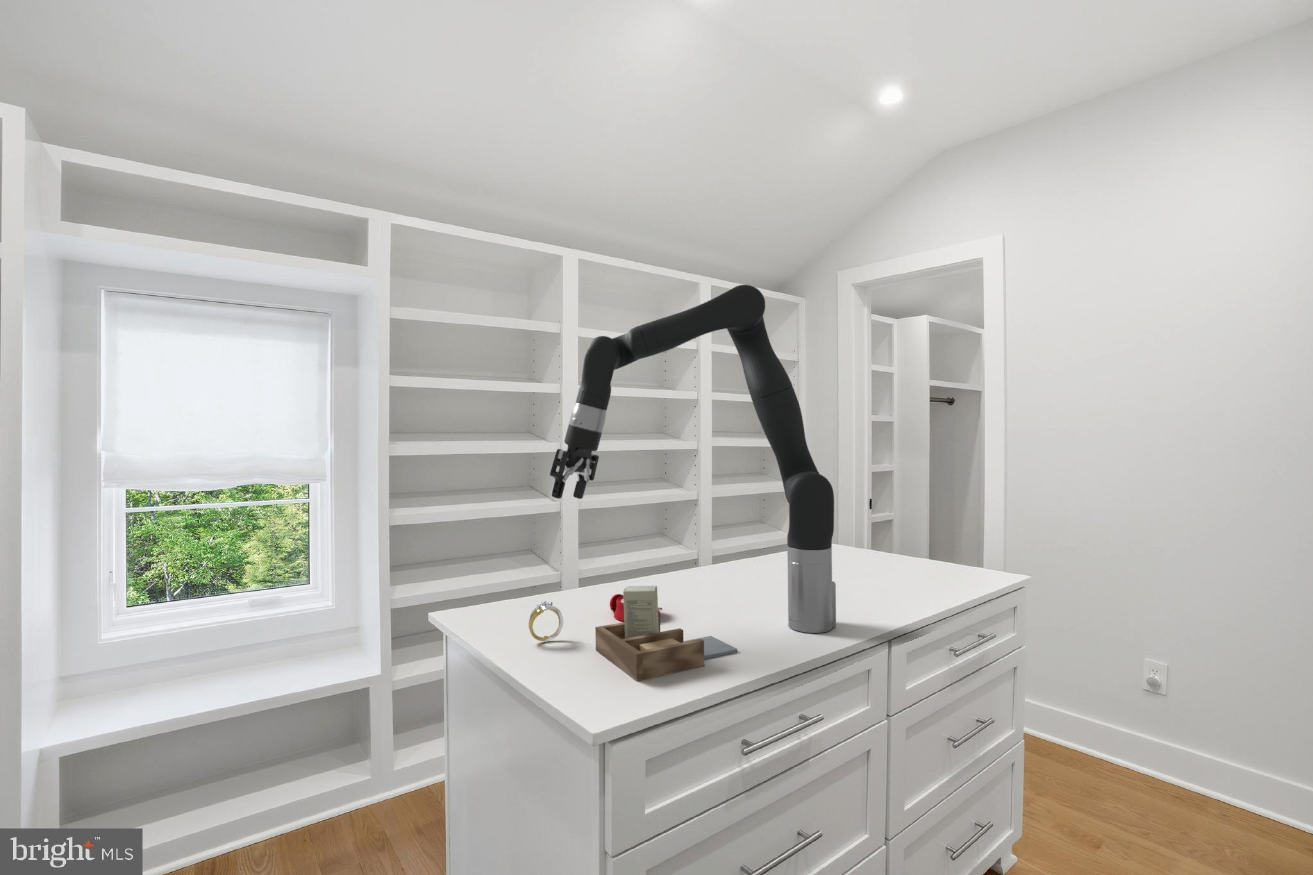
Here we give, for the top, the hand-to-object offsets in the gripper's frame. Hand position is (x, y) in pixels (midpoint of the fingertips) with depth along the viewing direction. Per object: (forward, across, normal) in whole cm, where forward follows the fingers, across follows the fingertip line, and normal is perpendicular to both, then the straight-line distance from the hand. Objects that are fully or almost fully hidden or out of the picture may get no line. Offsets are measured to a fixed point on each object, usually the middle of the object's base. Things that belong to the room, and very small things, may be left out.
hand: (567, 497), depth 135 cm
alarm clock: (+24, +15, -16) cm, 33 cm away
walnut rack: (+22, -8, -32) cm, 39 cm away
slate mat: (+19, 0, -39) cm, 43 cm away
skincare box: (+22, -6, -29) cm, 37 cm away
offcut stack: (+21, -11, -35) cm, 43 cm away
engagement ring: (+28, -9, -9) cm, 30 cm away
